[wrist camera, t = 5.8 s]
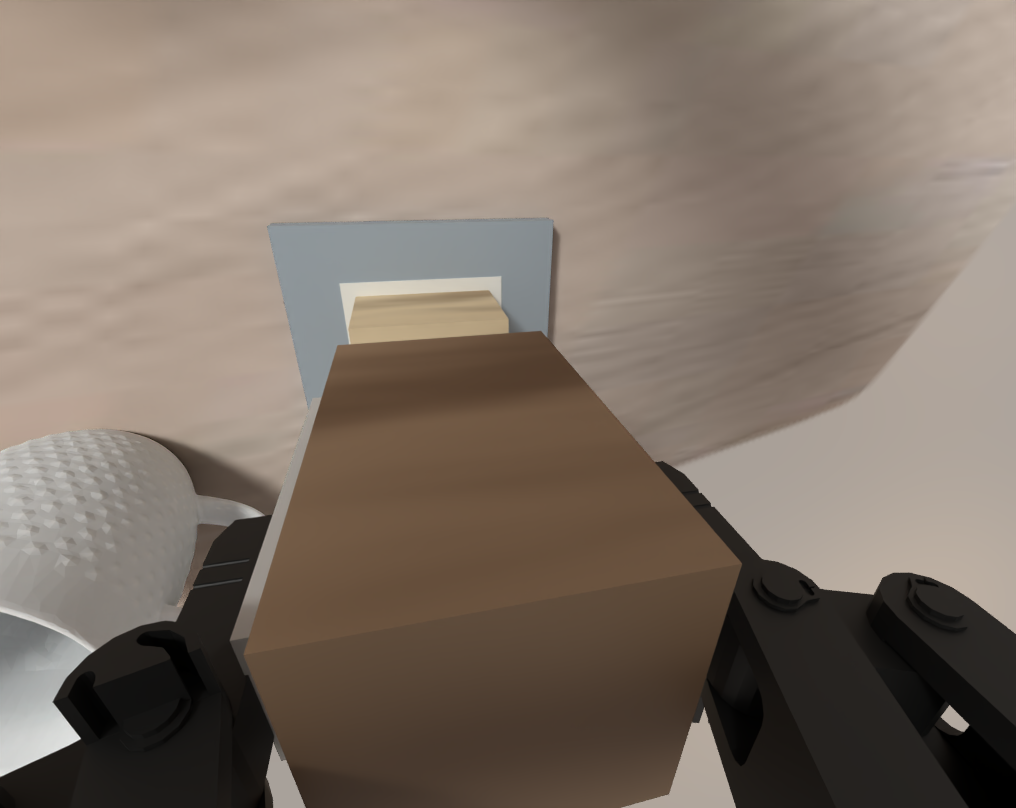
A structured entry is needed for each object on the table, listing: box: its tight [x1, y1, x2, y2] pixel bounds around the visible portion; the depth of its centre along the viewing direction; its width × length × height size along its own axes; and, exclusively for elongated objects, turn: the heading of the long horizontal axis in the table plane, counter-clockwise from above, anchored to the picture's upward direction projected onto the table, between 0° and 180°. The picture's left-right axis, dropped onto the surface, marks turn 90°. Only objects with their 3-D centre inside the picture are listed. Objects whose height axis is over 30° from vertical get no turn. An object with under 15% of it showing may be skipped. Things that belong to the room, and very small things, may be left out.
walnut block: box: [244, 331, 742, 808], centre depth 9 cm, size 5×5×8 cm
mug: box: [0, 429, 265, 777], centre depth 22 cm, size 15×11×13 cm
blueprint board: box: [267, 218, 553, 410], centre depth 27 cm, size 14×14×1 cm
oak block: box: [348, 290, 509, 344], centre depth 24 cm, size 7×7×5 cm
